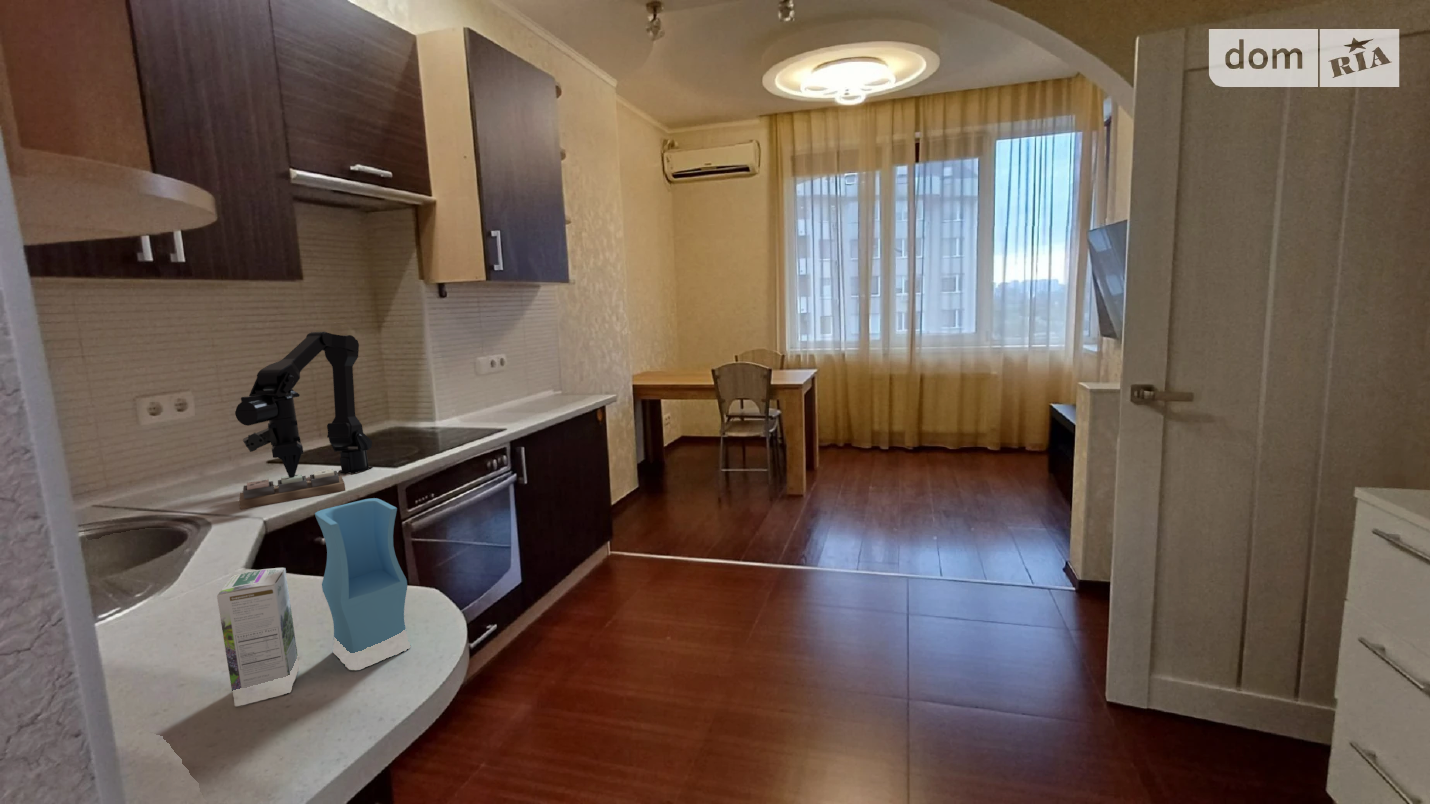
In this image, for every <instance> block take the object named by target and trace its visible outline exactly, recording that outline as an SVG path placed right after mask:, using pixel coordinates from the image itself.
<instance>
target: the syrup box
mask: <svg viewBox="0 0 1430 804" xmlns="http://www.w3.org/2000/svg"><path fill="white" fill-rule="evenodd" d="M289 592H290V590H289V586H288V579H287V570H286V567H275V568H263V569H256V570H250V571H246V572H241V573H238V574H235V575H232V576H231V577H230V578H229V579H228V581H227V582H226V583H225V585H224V586H223V587H222V589H221V590H220V591H219V593H218V594H217V595H216V599H217V604H218V612H219V617H220V624H221V629H222V630H221V631H222V637H223V643H224V649H225V655H226V662H227V667H228V675H229V682H230V687H231V692H232V691H233V690H236V689H240V688H247V687H250V686H253V685H258V684H261V683H265V682H268V681H273V680H274V679H278V678H283V677H286V676H288V675H290V671H291V670H292V668H293V666H294V663H295V661H296V659H297V656H298V657H299V655H298V648H297V642H296V635H295V634H296V633H295V628H294V620H293V619H294V618H293V611H292V605H291V600H290V599H291V597H290V593H289Z"/></svg>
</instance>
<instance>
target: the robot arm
mask: <svg viewBox="0 0 1430 804" xmlns="http://www.w3.org/2000/svg"><path fill="white" fill-rule="evenodd" d="M359 348H360V344H359V341H358V339H356V337H354V336H353V335H350V334H345V335H343V334H342V335H341V334H335V333H331V332H327V331H311V332H309V333H307V335H306V337H305V338H304V339H303V340H302V341H301V342H299V344H297V345H296V347H294V348H293V349H292V350H291V351H290V352H289V353H288V354H286V355H285V356H284V357H283V358H282V359H280V360H279V361H275V362H274V363H270V364H268V365H267V366H265V367H263V368H262V369H260V370H259V371H258V372H257V374H256V379H255V381H254V383H253V386H252V389H251V390H250V393H249V395H248V396H242V397H241V398H240V401H241V402H239V403H238V405H237V406H236V408H235V411H234V414H235V418H236V419H237V421H238V422H239V423H240V424H241V425H244V426H252V425H257V424H260V423H266V422H268V423H267V428H265V429H263V430H261V431H258V432H253V433H251V434H248V436H246V437H245V438H243V439H242V441H243V443H244V445H245V447H246V448H247V449H248V451H249V452H250V453H251V452H254V451H257V450H258V449H259V448H262V447H264V446H266V445H268V444H270V445H271V446H272V447H271V453H272V458H273V459H276V458H277V459H279V460H281V462H282V463H283V466H284V468H285V470H286V473H287V476H289V478H291V477H294V476H295V475H296V473H297V470H298V467H299V463H300V459H301V456H302V454H304V447H303V443H301V442H302V440H301V435H300V434H299V427H298V420H297V415H296V407H295V401H294V398H300V393H298V392H297V391H296V390H294V388H295V386H296V385H297V384H298V382H299V381H300V379H301V372H302V371H303V370H304V368H305V367H307V366H308V365H309V364H310V363H311V362H312V361H313V360H314V359H315V358H316V357H317V356H318V355H319V354H320V353H321V352H322V351H323V352H324V356H325V358H326V360H327V362H329V364H330V366H331V368H332V381H333V382H332V383H333V384H332V385H333V398H334V399H333V400H334V418H333V420H332V421H331V422H329V423H327V424H326V425H327V426H326V428H327V438H328V441H329V444H330V445H331V447H332V450H333V451H334V453H336V452H339V454H340V455H339V456H340V457H339V461H340V468H341V469H340V470H337V471H338V472H337V473H342V474H343V473H344V474H358V473H361V472H363V471H367V470H369V469H372V468H374V466H373V465H369V461H368V460H369V459H368V452H367V451H369V450H371V449H372V446H373V445H372V443H373V440H372V439H371V438H370V437H369V436H367V434H365V433H364V429H363V424H362V423H361V422H360V420H359V419H358V417H357V416H356V407H355V404H356V403H355V390H354V388H355V385H354V369H353V368H354V367H353V366H354V365H355V363H356V361H357V360H358V358H359Z"/></svg>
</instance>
